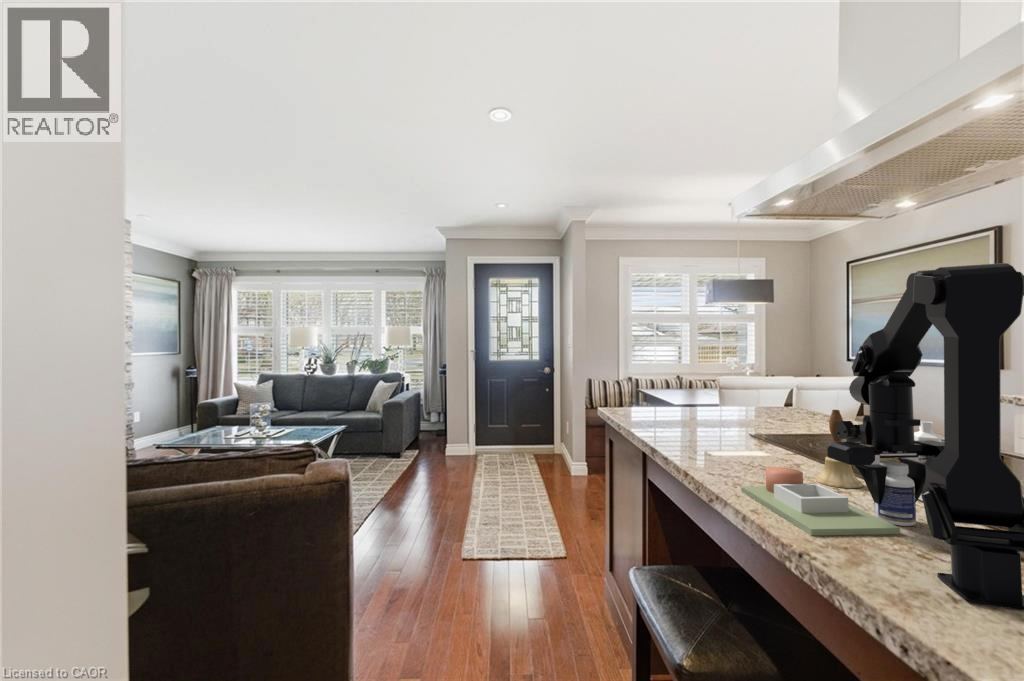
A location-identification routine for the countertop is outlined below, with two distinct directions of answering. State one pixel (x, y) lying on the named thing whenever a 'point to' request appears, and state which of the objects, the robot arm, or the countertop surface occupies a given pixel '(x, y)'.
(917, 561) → the countertop surface
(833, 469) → the hand bell
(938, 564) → the countertop surface
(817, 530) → the green board with tray
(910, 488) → the pill bottle
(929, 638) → the countertop surface
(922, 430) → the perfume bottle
